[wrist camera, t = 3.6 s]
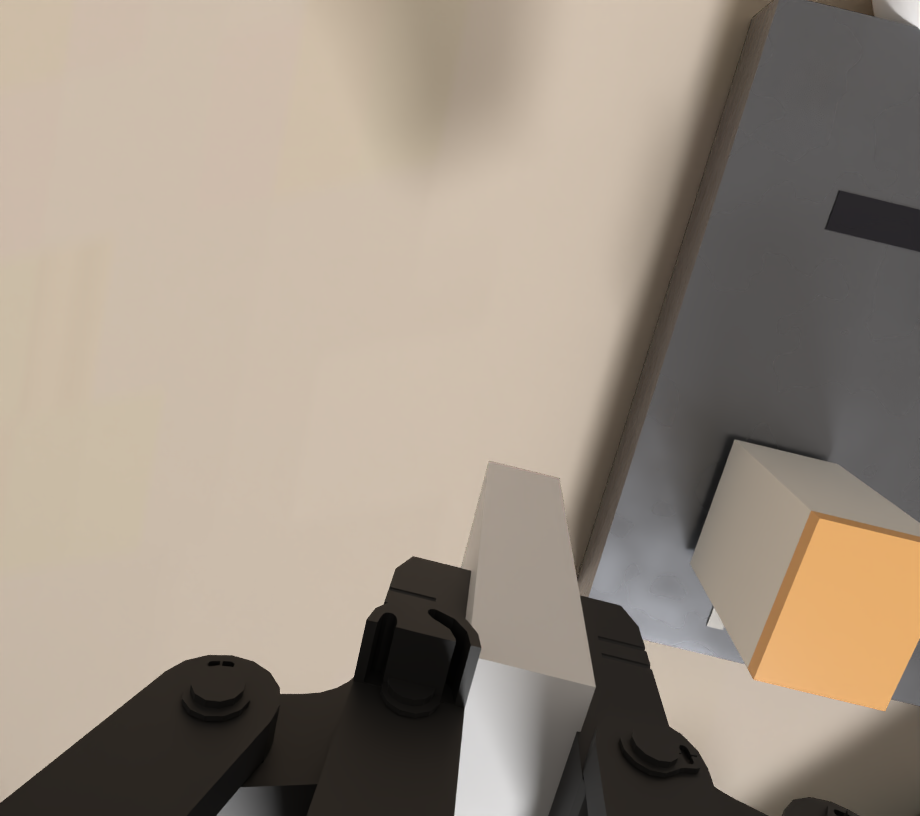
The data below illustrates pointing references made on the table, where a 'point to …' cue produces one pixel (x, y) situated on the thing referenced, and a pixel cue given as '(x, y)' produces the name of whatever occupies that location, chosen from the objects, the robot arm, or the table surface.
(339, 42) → the table surface
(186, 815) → the robot arm
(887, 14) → the molecule model
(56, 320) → the table surface
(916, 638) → the fader
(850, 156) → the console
